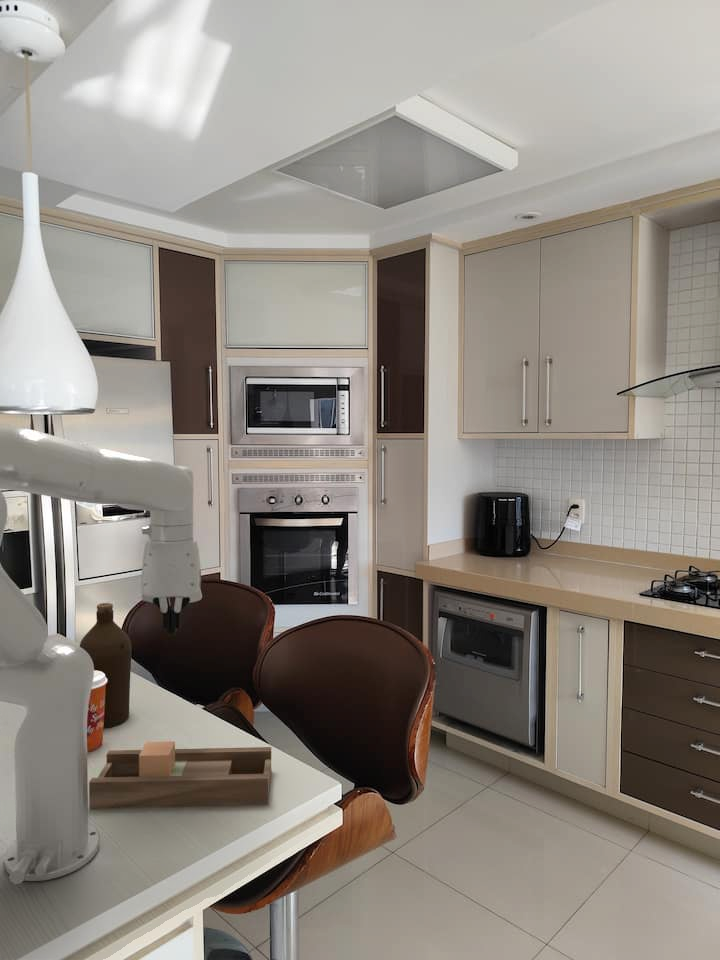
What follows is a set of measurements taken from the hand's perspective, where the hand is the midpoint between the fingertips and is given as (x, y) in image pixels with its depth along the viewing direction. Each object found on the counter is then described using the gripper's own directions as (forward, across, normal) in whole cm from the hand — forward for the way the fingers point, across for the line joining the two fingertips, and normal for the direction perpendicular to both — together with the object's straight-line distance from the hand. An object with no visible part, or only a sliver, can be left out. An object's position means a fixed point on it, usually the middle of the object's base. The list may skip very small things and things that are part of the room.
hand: (172, 631), depth 122 cm
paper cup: (+25, -18, +8) cm, 32 cm away
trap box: (+25, +4, -9) cm, 27 cm away
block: (+22, -1, -8) cm, 24 cm away
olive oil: (+25, -18, +20) cm, 37 cm away
